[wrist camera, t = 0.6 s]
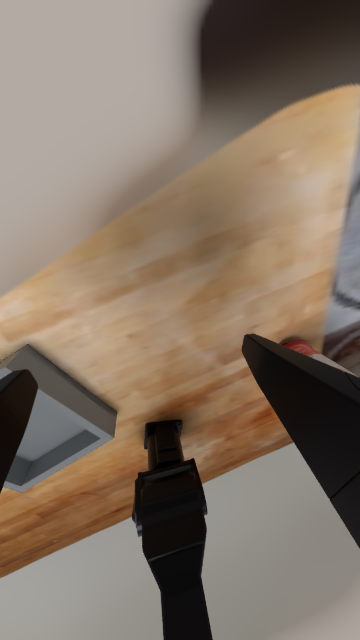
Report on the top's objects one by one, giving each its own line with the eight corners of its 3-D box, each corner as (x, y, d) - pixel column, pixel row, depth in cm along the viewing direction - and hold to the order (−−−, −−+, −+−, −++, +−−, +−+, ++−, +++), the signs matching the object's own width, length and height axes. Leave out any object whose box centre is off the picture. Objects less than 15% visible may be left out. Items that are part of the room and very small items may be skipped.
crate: (117, 412, 28) (114, 438, 25) (35, 461, 29) (21, 492, 26) (27, 344, 21) (4, 366, 17) (-79, 413, 22) (-121, 447, 18)
